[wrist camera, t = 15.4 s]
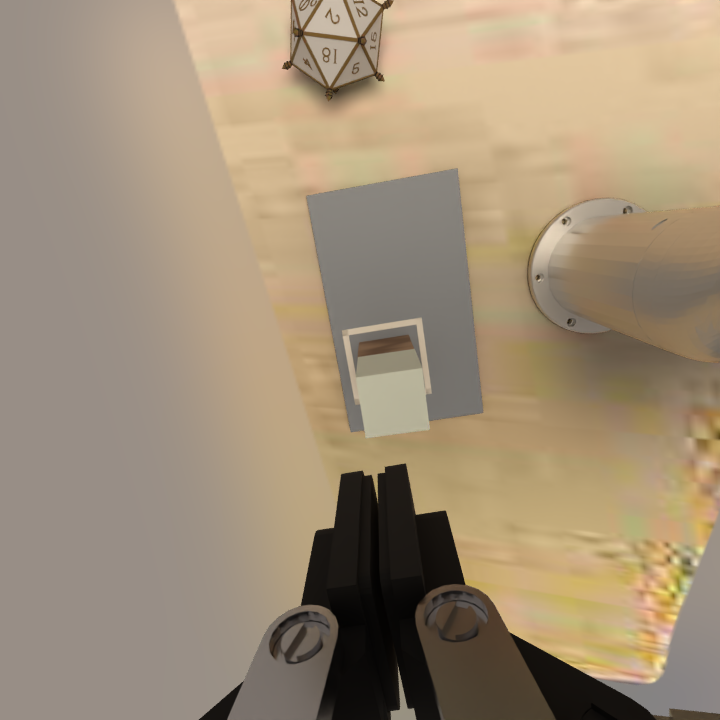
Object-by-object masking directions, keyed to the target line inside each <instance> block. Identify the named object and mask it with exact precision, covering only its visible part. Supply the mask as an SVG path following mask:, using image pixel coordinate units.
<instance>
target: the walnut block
mask: <svg viewBox="0 0 720 720" xmlns="http://www.w3.org/2000/svg"><path fill="white" fill-rule="evenodd" d="M410 349H414V347H413V345H412V342H411V340H410V337H409V335H402V336H396V337H390V338H384V339H377V340H371V341H365V342H359V348H358V357H362V356H369V355H376V354H382V353H389V352H396V351H403V350H410ZM358 357H357V358H358Z"/></svg>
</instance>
